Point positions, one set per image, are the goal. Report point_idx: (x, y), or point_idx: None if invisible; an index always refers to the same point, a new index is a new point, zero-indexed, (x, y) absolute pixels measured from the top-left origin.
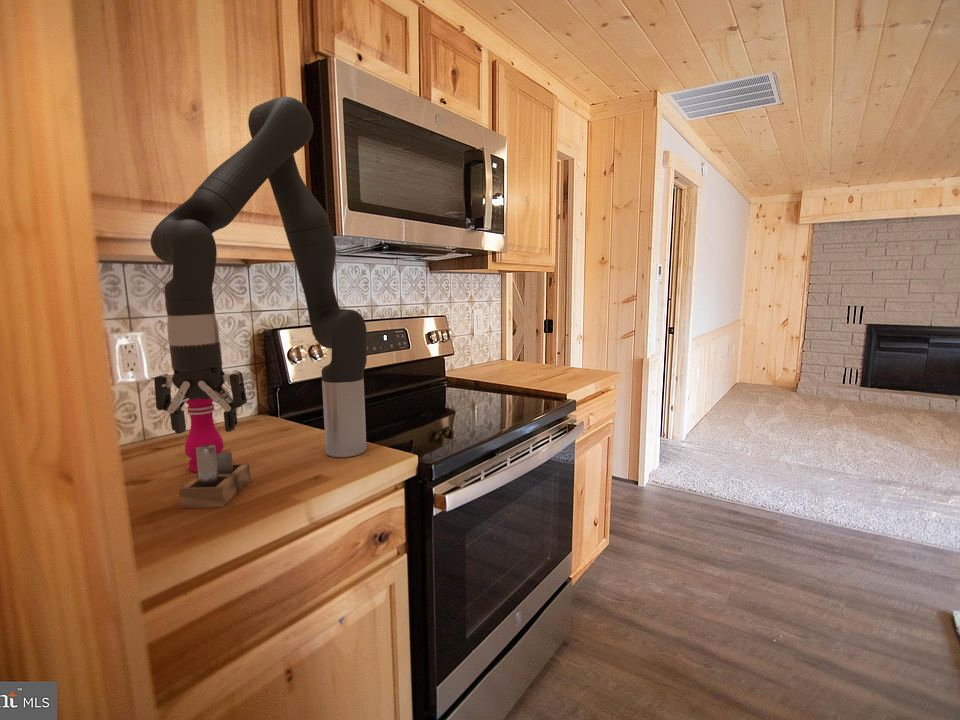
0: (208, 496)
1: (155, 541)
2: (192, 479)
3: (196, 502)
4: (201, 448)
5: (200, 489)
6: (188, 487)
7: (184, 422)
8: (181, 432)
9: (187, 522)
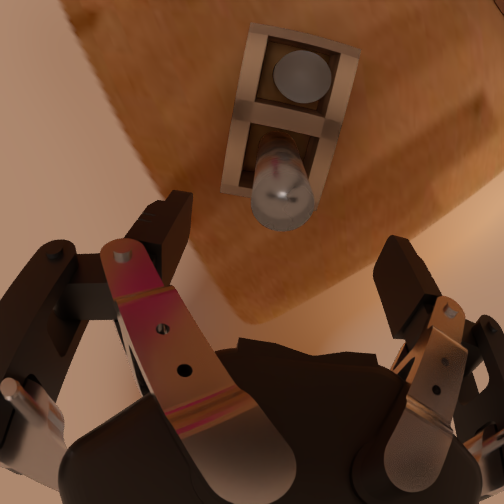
0: None
1: (232, 283)
2: (229, 132)
3: None
4: (271, 211)
5: None
6: (237, 185)
7: (182, 215)
8: (189, 225)
9: (260, 237)
